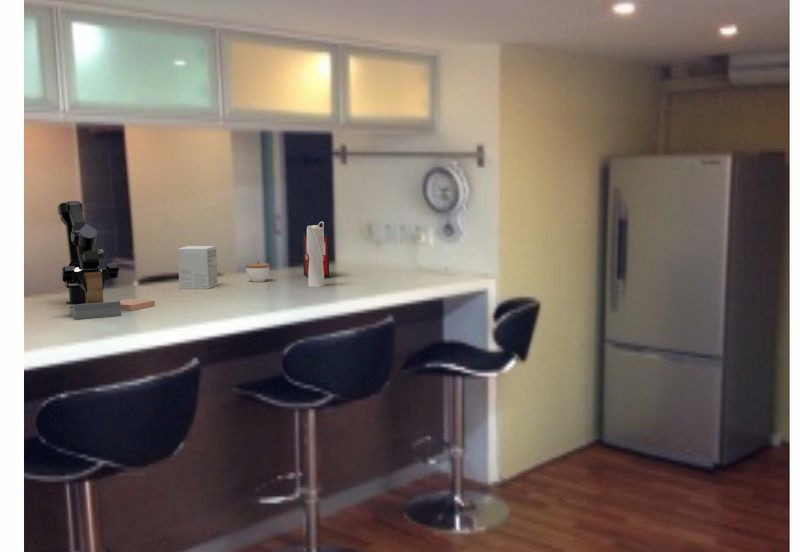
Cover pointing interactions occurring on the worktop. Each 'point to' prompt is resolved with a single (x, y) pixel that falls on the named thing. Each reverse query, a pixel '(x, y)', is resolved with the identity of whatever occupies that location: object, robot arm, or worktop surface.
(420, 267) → the worktop surface
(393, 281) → the worktop surface
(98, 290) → the walnut block
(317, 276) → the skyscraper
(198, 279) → the supplement box
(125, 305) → the terracotta tile stand
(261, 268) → the lidded jar
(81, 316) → the slate shelf ledge
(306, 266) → the cleaning product box
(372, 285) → the worktop surface
